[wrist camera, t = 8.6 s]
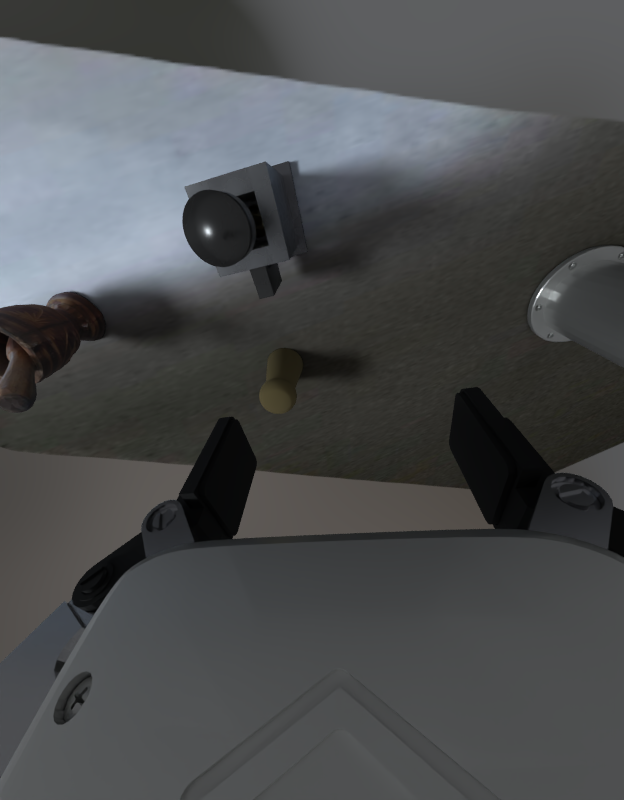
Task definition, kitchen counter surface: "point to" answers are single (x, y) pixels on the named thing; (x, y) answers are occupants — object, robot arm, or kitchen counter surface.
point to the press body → (264, 220)
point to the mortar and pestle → (41, 344)
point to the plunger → (221, 227)
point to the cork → (281, 381)
